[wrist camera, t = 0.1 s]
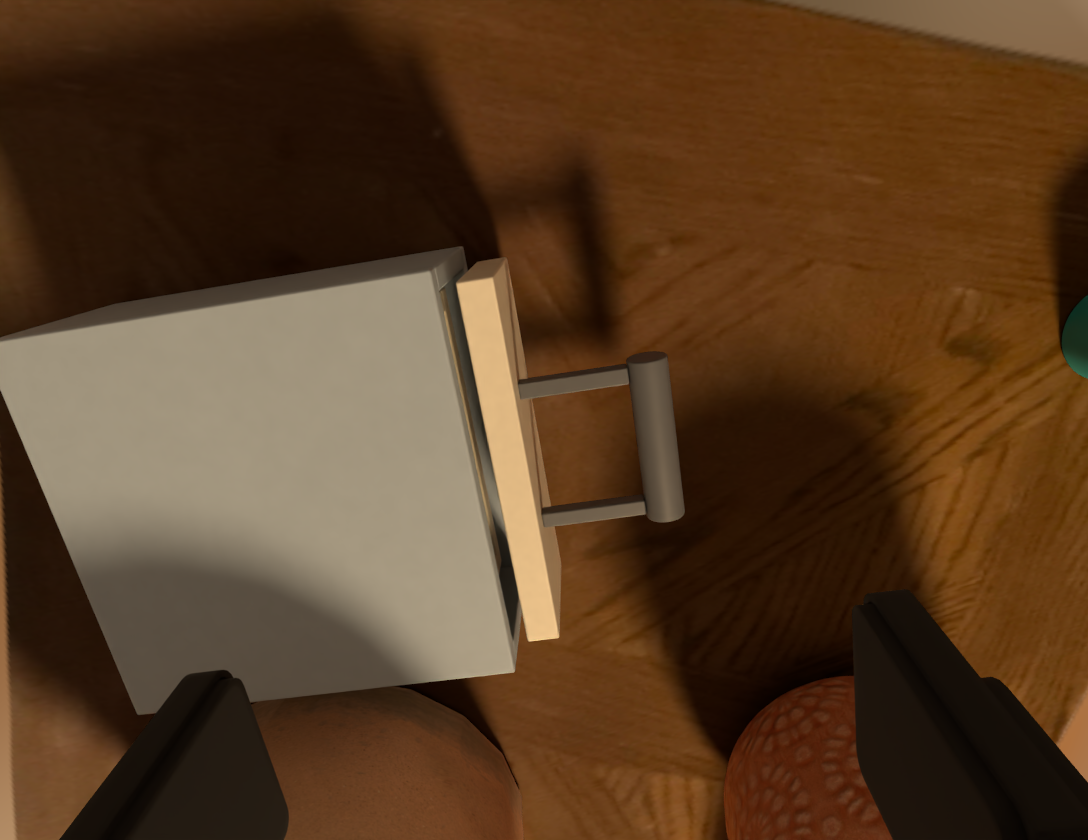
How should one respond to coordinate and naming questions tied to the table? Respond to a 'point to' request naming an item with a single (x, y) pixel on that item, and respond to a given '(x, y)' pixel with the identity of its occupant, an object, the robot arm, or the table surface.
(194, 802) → the robot arm
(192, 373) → the grey cabinet
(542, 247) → the table surface
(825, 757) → the planter
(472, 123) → the table surface
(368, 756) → the pottery
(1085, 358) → the cylinder
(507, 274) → the drawer
